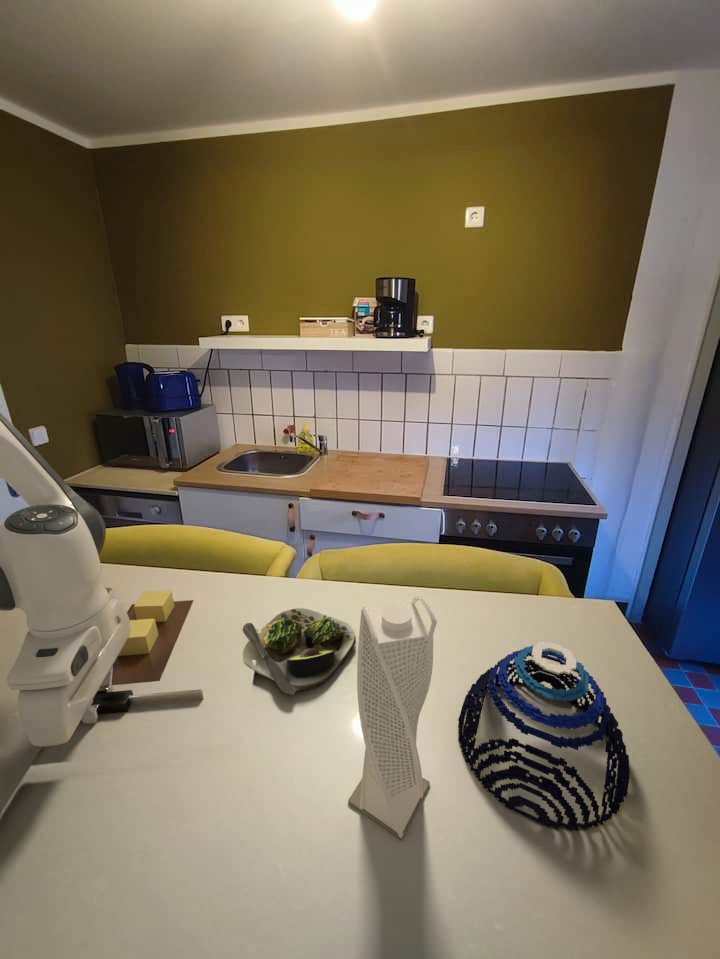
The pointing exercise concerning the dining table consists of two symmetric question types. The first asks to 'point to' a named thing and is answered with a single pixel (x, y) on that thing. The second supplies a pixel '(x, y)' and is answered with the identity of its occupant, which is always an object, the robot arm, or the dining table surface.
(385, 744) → the skyscraper
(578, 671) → the decorative bowl
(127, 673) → the cutting board
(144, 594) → the butter slice
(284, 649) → the salad plate
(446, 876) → the dining table surface
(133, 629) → the butter block
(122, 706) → the knife
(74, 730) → the robot arm
